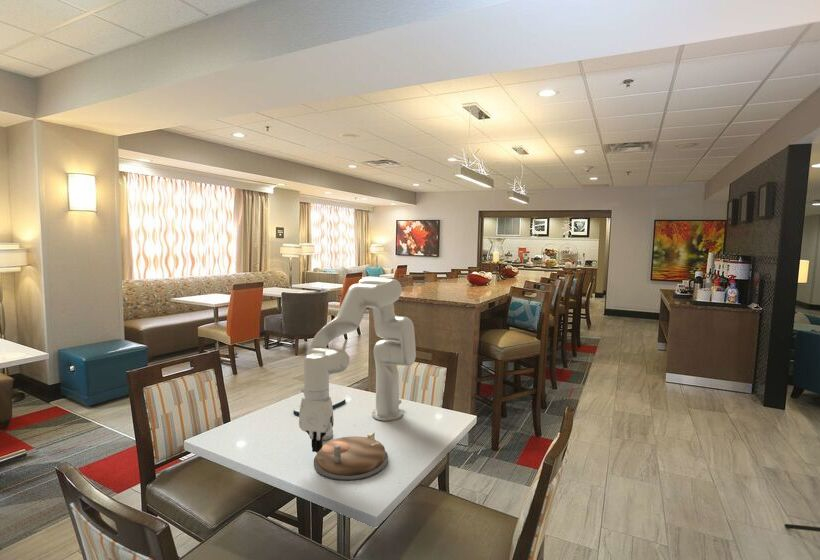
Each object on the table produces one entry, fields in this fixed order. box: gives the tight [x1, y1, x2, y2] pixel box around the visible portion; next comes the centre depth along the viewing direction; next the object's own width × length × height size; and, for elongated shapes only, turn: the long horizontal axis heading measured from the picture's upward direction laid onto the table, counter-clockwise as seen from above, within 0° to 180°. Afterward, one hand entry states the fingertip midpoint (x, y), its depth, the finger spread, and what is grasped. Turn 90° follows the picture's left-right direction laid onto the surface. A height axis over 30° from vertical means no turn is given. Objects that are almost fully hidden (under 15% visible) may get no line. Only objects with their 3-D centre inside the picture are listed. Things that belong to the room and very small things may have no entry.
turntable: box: [316, 435, 386, 475], centre depth 140 cm, size 22×22×7 cm
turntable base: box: [313, 431, 389, 482], centre depth 141 cm, size 26×24×4 cm
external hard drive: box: [292, 394, 346, 417], centre depth 186 cm, size 24×12×2 cm, turn 148°
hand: (317, 450), depth 136 cm, fingers closed
